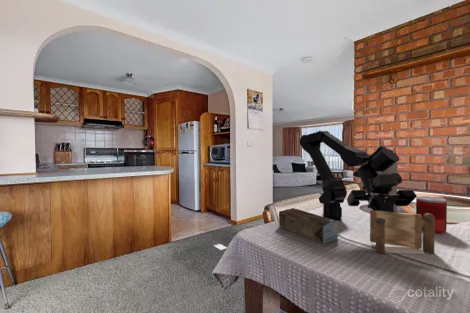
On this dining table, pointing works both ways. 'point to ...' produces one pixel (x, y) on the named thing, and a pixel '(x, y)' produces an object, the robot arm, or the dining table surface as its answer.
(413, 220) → the gate
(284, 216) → the beverage carton
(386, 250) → the threshold
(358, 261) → the dining table surface
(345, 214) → the dining table surface
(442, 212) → the canned food
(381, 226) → the post
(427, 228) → the hinge post
